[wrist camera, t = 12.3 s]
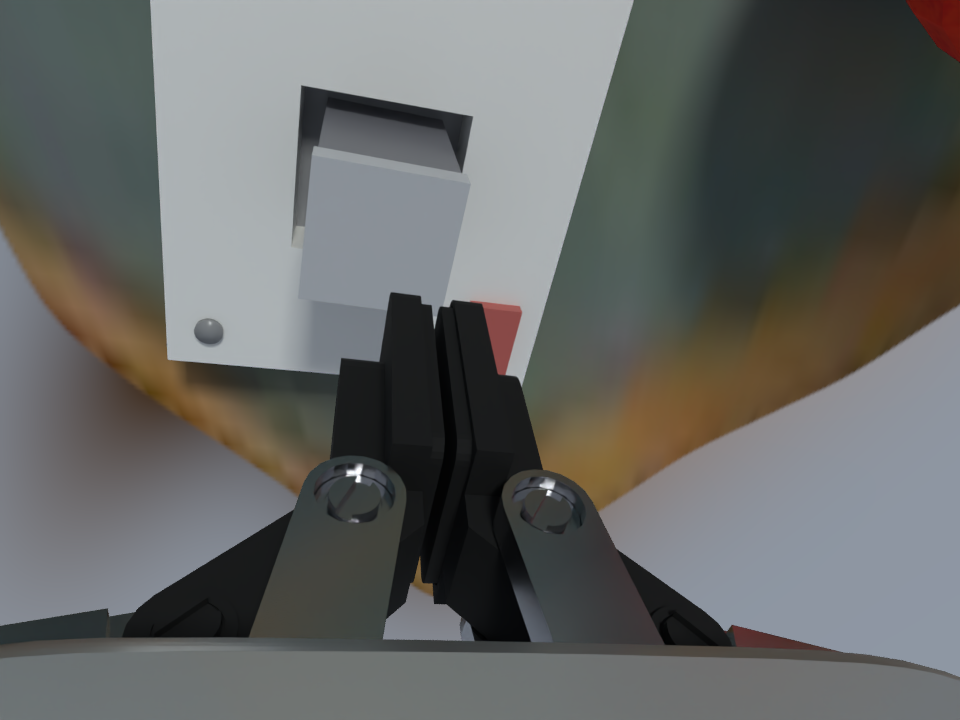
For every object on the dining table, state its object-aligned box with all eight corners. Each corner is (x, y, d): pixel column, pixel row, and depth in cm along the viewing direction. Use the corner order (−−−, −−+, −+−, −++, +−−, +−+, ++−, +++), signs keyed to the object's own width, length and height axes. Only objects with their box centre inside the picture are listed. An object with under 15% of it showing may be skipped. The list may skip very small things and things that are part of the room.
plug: (445, 117, 24) (471, 183, 18) (424, 227, 26) (440, 317, 20) (325, 93, 23) (312, 155, 17) (313, 209, 25) (298, 298, 19)
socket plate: (618, -41, 22) (650, -35, 20) (510, 358, 31) (522, 397, 28) (166, -153, 19) (136, -162, 17) (182, 325, 28) (164, 366, 25)
